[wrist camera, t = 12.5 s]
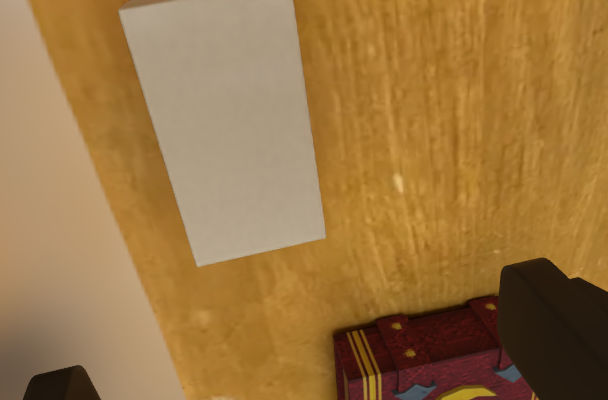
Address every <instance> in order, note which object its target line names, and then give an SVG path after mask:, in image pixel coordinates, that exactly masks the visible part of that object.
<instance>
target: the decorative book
mask: <svg viewBox="0 0 608 400" xmlns="http://www.w3.org/2000/svg"><path fill="white" fill-rule="evenodd" d="M498 302H499V298H498V296H492V297H487V298H482V299H477V300H472V301H469V303H468V308H465V309H460V310H455V311H450V312H445V313H440V314H435V315H431V316H426V317H421V318H416V319H411V320H408V318H407V316H406V315H405V314H404V315H399V316H394V317H389V318H384V319H379V320H376V327H372V328H367V329H363V330H358V331H353V332H348V333H343V334H338V335H333V339H334V352H335V365H336V378H337V391H338V400H539V399H538V398H537V396H536V395H535V393H534V392H533V391H532V389H531V388H530V386H529V385H528V384H527V382H526V381H525V379H524V378H523V377H522V375H521V374H520V372H519V371H518V370H517V368H516V367H515V365H514V364H513V363H512V361H511V360H510V359H509V357H508V356H507V354H506V352H505V351H504V349H503V346H502V344H501V342H500V339H499V335H498V330H497V315H498Z"/></svg>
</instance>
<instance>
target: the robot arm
mask: <svg viewBox="0 0 608 400" xmlns="http://www.w3.org/2000/svg"><path fill="white" fill-rule="evenodd" d="M497 330H498V335H499V339H500V342H501V344H502V346H503V349H504V351H505V352H506V354H507V356H508V357H509V359H510V360H511V361H512V363H513V364H514V365H515V367H516V368H517V370H518V371H519V372H520V374H521V375H522V377H523V378H524V379H525V381H526V382H527V384H528V385H529V386H530V388H531V389H532V391H533V392H534V393H535V395H536V396H537V398H538V399H539V400H608V292H607V291H605V290H603V289H601V288H599V287H597V286H595V285H593V284H591V283H589V282H587V281H585V280H583V279H581V278H579V277H577V278H573V279H569V278H568V277H567V276H566V275H565V274H564V273H563V272H562V271H561V270H559V269H558V268H557V267H556V266H555V265H554V264H553V263H552V262H551V261H550V260H548V259H546V258H537V259H533V260H528V261H524V262H520V263H516V264H511V265H507V266H505V267H503V269H502V271H501V277H500V290H499V302H498V315H497ZM23 400H101V399H100V397H99V395H98V393H97V391H96V389H95V388H94V386H93V384H92V382H91V380H90V378H89V376H88V374H87V372H86V370H85V369H84V368H83V367H82V366H80V365H76V366H72V367H68V368H64V369H59V370H56V371H51V372H47V373H43V374H38V375H35V376H34V377H33V378H32V379H31V380H30V382H29V385H28V387H27V390H26V392H25V395H24V398H23Z"/></svg>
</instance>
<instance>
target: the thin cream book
mask: <svg viewBox="0 0 608 400" xmlns="http://www.w3.org/2000/svg"><path fill="white" fill-rule="evenodd" d="M118 14H119V17H120V20H121V24H122V27H123V30H124V33H125V37H126V40H127V43H128V46H129V50H130V53H131V56H132V59H133V63H134V66H135V69H136V72H137V75H138V79H139V82H140V85H141V88H142V92H143V95H144V98H145V101H146V105H147V108H148V111H149V114H150V118H151V121H152V124H153V127H154V131H155V134H156V137H157V140H158V144H159V147H160V150H161V153H162V156H163V160H164V163H165V166H166V169H167V173H168V176H169V179H170V182H171V186H172V189H173V192H174V195H175V199H176V202H177V205H178V208H179V212H180V215H181V218H182V221H183V225H184V228H185V231H186V234H187V237H188V241H189V244H190V247H191V250H192V254H193V257H194V260H195V263H196V266H197V267H200V266H204V265H209V264H213V263H217V262H222V261H226V260H231V259H235V258H240V257H244V256H248V255H253V254H257V253H262V252H266V251H270V250H275V249H279V248H284V247H288V246H293V245H297V244H301V243H306V242H310V241H315V240H319V239H323V238H326V229H325V222H324V215H323V208H322V201H321V194H320V187H319V180H318V172H317V165H316V158H315V151H314V144H313V137H312V130H311V123H310V116H309V108H308V101H307V94H306V87H305V80H304V73H303V66H302V59H301V51H300V44H299V37H298V30H297V23H296V16H295V9H294V2H293V0H134V1H128V2H125V3H124V4H123V5H122V6H121V7H120V9H119V10H118Z"/></svg>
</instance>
